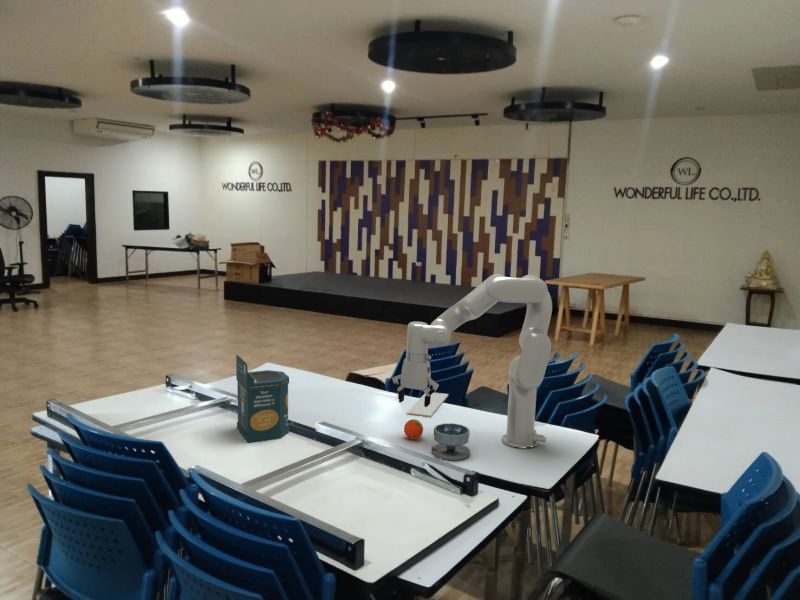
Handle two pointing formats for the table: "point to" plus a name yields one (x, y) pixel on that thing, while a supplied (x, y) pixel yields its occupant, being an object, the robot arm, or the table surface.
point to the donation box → (261, 403)
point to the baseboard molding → (428, 411)
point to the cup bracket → (451, 442)
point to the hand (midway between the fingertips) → (413, 403)
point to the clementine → (413, 429)
